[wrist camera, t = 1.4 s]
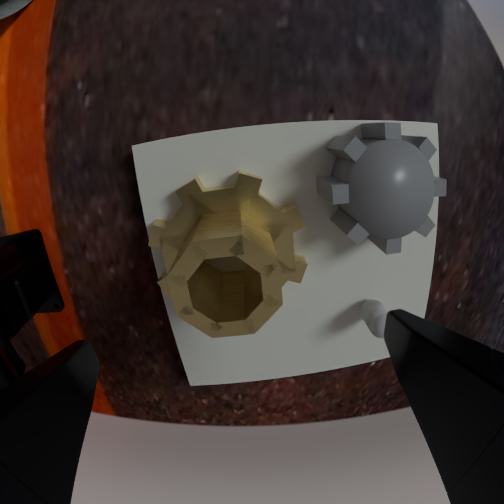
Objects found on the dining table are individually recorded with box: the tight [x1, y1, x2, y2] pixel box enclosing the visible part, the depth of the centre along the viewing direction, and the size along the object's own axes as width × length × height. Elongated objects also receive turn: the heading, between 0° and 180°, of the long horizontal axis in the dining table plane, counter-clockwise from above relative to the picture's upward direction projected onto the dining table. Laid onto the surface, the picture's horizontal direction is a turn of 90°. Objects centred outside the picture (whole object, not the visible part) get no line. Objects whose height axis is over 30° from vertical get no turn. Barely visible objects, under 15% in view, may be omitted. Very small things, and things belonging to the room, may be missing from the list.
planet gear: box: [148, 171, 308, 338], centre depth 15 cm, size 8×8×5 cm
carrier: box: [132, 120, 446, 386], centre depth 17 cm, size 18×17×5 cm
